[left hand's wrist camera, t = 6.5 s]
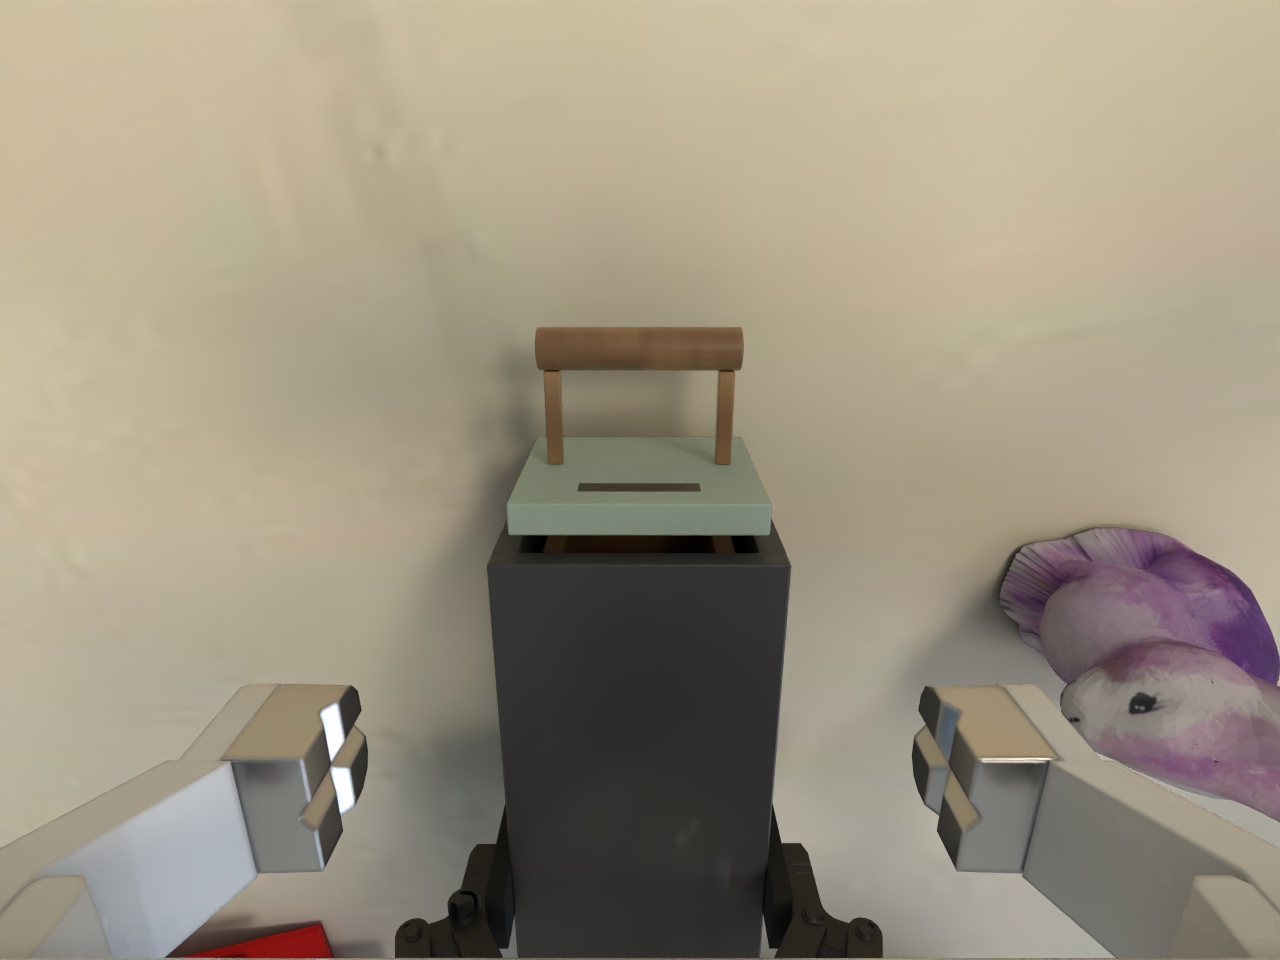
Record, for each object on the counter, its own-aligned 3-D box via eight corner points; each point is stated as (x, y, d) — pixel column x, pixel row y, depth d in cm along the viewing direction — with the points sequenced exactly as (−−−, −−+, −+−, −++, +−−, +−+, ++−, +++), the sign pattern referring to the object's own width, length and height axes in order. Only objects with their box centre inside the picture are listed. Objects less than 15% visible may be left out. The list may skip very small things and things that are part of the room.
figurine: (949, 576, 36) (1151, 814, 21) (1154, 471, 34) (1524, 658, 20) (1022, 712, 38) (1244, 1003, 24) (1215, 623, 36) (1578, 881, 22)
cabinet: (528, 467, 34) (485, 564, 24) (750, 467, 34) (792, 564, 24) (546, 801, 41) (518, 978, 31) (731, 801, 41) (759, 978, 31)
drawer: (531, 314, 30) (495, 347, 23) (748, 314, 30) (782, 347, 23) (553, 769, 39) (532, 903, 31) (724, 770, 39) (745, 904, 31)
